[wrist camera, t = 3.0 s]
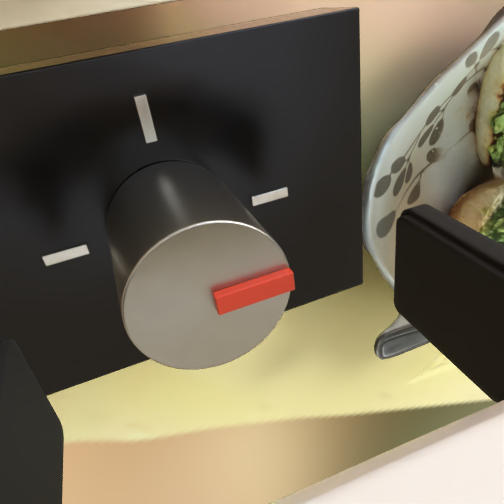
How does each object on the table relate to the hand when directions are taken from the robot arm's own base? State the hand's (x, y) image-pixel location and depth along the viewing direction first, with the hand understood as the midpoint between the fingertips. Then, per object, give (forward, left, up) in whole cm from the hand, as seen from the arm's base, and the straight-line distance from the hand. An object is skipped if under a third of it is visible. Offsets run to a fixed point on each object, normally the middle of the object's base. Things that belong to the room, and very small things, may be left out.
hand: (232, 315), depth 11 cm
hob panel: (0, 0, -8) cm, 8 cm away
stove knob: (0, 0, -6) cm, 6 cm away
